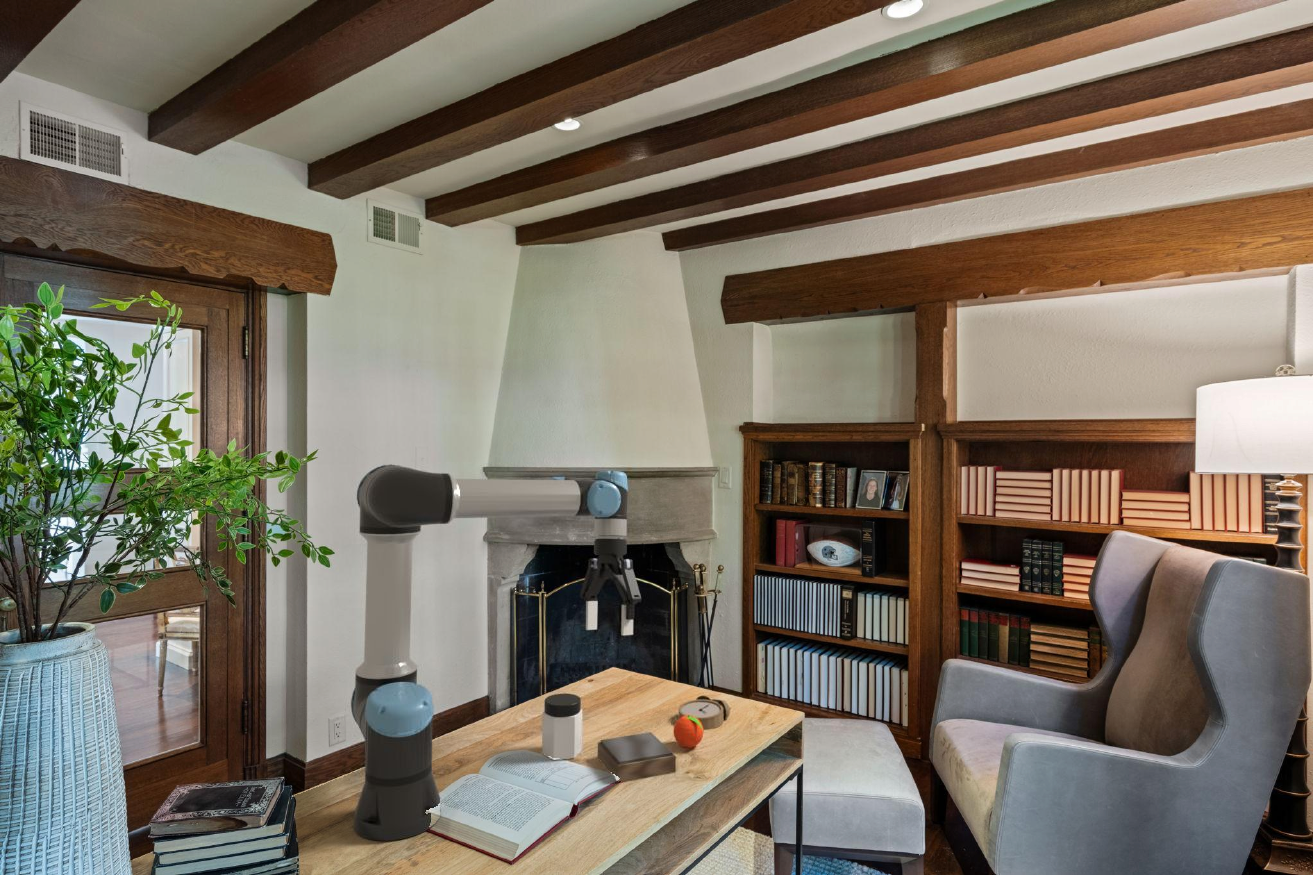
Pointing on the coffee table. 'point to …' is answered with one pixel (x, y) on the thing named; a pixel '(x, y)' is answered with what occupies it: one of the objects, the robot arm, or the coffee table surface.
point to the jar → (562, 726)
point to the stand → (636, 756)
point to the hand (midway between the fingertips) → (608, 632)
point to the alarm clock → (706, 711)
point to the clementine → (688, 731)
